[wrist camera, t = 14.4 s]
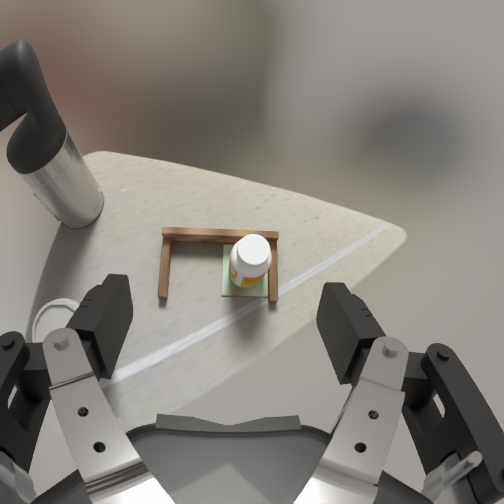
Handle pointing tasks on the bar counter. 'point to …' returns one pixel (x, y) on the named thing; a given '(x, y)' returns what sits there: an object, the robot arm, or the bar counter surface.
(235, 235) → the bay
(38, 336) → the disposable coffee cup
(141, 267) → the bar counter surface
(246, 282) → the supplement bottle
